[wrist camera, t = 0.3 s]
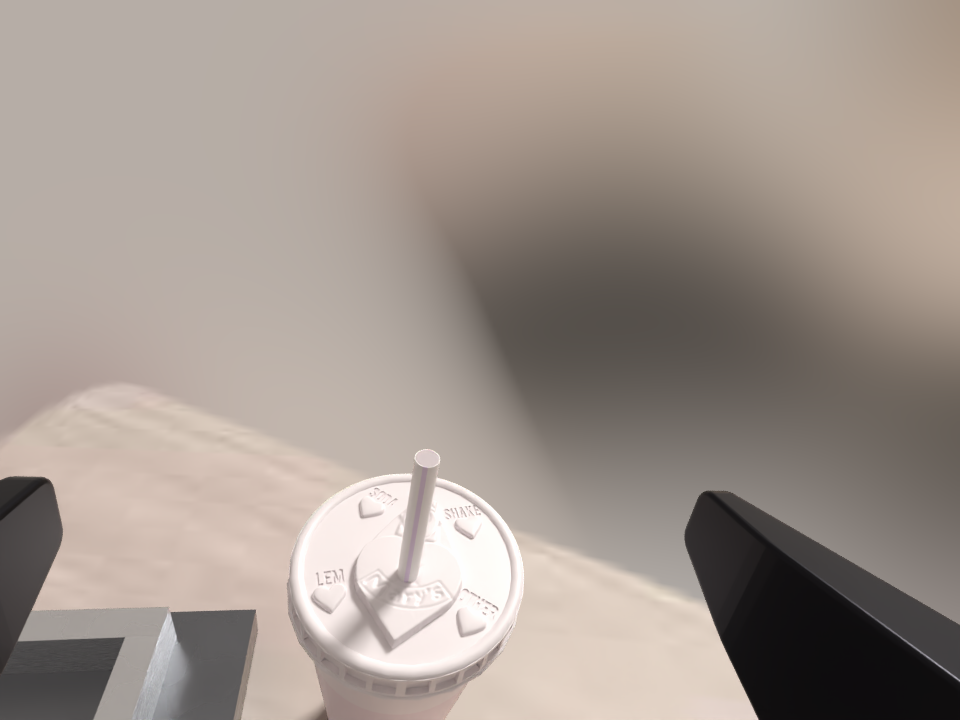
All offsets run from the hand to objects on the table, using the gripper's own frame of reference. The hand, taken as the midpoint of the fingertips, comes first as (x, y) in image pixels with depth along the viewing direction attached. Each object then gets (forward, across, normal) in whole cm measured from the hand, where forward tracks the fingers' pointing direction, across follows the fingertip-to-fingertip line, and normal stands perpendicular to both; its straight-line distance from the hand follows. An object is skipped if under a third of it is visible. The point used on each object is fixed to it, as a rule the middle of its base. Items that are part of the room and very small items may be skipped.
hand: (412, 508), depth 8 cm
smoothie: (+7, -1, +16) cm, 17 cm away
